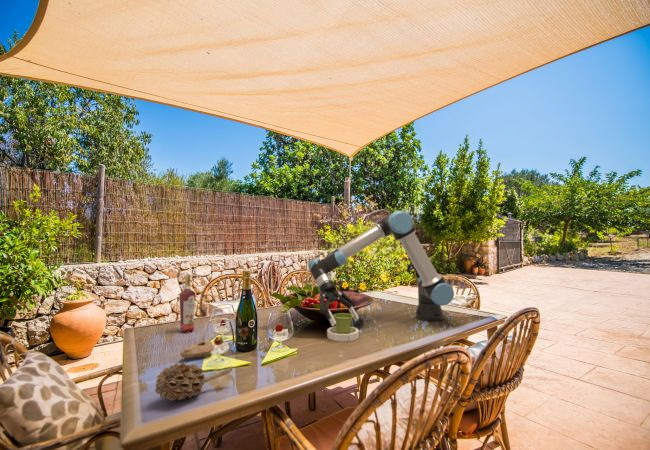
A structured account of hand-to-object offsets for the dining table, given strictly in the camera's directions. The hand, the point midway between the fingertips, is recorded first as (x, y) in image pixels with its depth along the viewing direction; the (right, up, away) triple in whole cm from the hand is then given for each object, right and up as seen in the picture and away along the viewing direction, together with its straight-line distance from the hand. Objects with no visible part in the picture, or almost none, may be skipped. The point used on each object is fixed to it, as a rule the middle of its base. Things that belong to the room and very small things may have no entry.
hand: (345, 322), depth 144 cm
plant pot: (-1, -6, +2) cm, 7 cm away
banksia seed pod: (-48, -6, -51) cm, 70 cm away
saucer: (-1, -7, +2) cm, 8 cm away
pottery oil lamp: (-60, -7, -22) cm, 64 cm away
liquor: (-78, -9, +13) cm, 80 cm away
